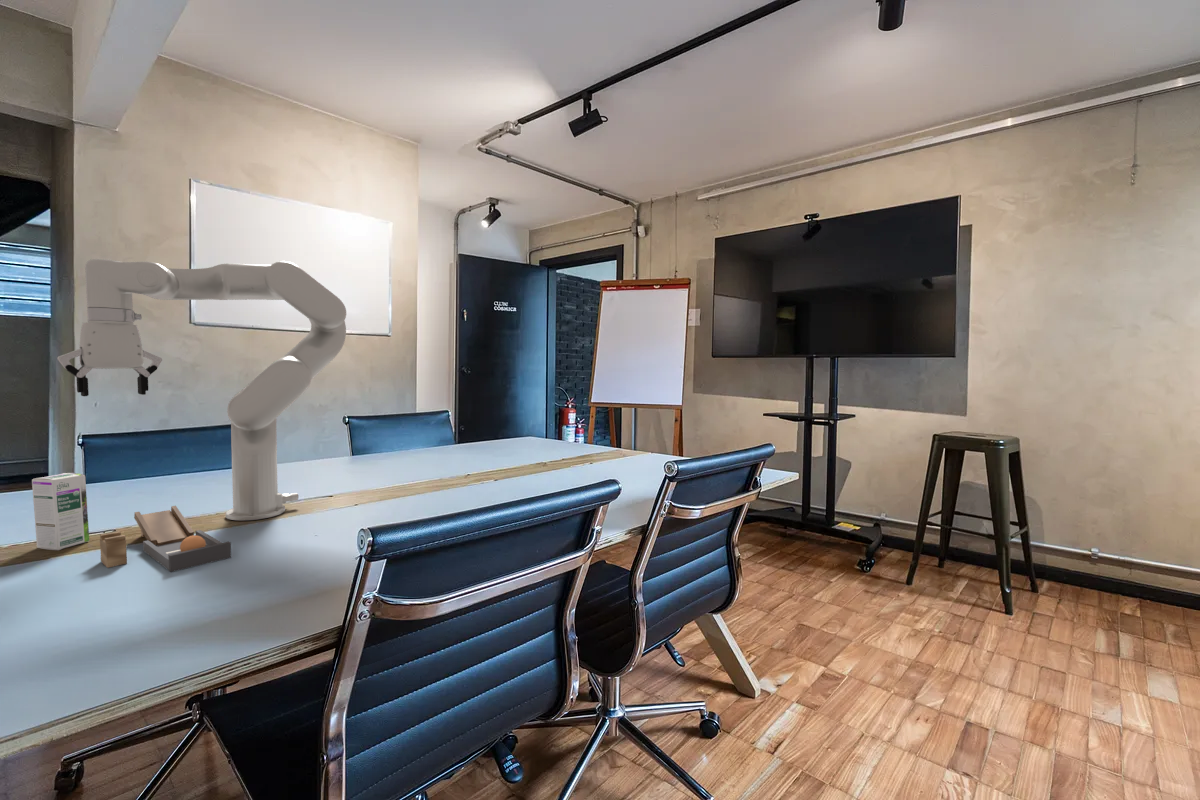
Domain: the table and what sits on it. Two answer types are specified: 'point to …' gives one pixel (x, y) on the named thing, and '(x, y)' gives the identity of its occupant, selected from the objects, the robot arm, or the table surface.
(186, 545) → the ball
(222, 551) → the lane
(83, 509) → the syrup box
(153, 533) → the ramp
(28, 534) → the table surface
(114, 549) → the wooden upright block
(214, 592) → the table surface
